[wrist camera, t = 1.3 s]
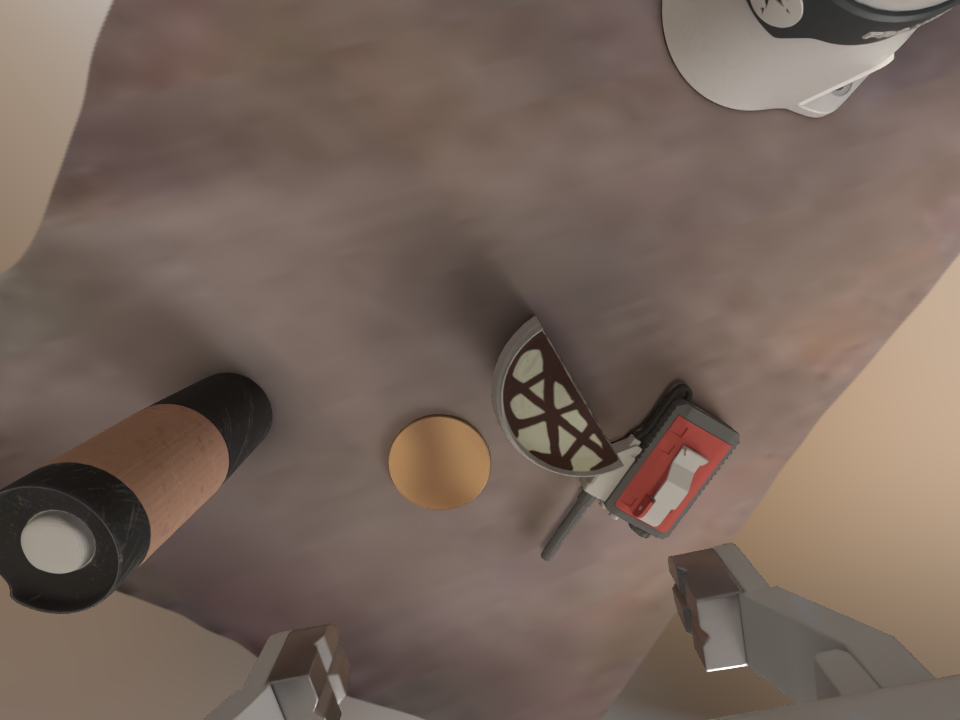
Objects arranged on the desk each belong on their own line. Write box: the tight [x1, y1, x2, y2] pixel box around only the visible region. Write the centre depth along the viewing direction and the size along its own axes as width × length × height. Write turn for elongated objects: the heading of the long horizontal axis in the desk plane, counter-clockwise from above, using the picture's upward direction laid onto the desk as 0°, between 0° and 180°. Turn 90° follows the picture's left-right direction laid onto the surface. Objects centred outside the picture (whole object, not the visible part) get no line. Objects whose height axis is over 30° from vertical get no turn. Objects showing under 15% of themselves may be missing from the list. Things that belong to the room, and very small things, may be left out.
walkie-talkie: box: [541, 384, 739, 561], centre depth 45 cm, size 9×4×20 cm
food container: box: [492, 315, 624, 477], centre depth 40 cm, size 12×6×10 cm, turn 32°
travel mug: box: [0, 373, 272, 614], centre depth 36 cm, size 8×8×20 cm
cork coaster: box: [389, 415, 490, 510], centre depth 46 cm, size 9×9×1 cm
